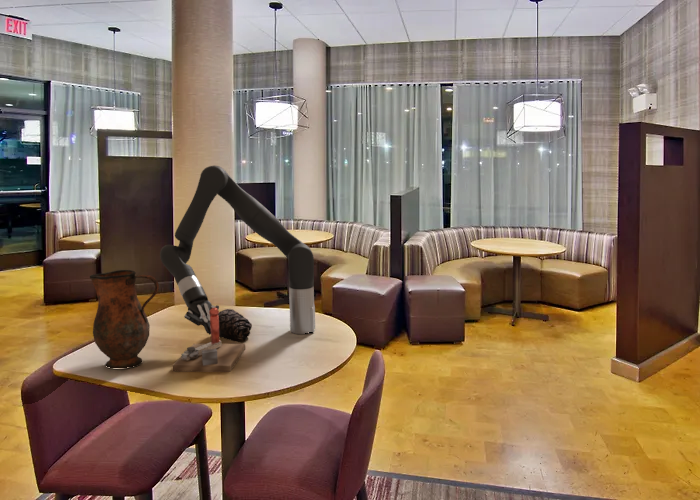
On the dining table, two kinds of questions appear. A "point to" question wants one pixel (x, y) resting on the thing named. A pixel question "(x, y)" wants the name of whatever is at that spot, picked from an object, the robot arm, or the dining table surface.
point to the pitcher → (120, 317)
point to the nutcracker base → (222, 356)
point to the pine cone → (233, 326)
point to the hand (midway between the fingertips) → (212, 332)
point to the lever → (214, 337)
